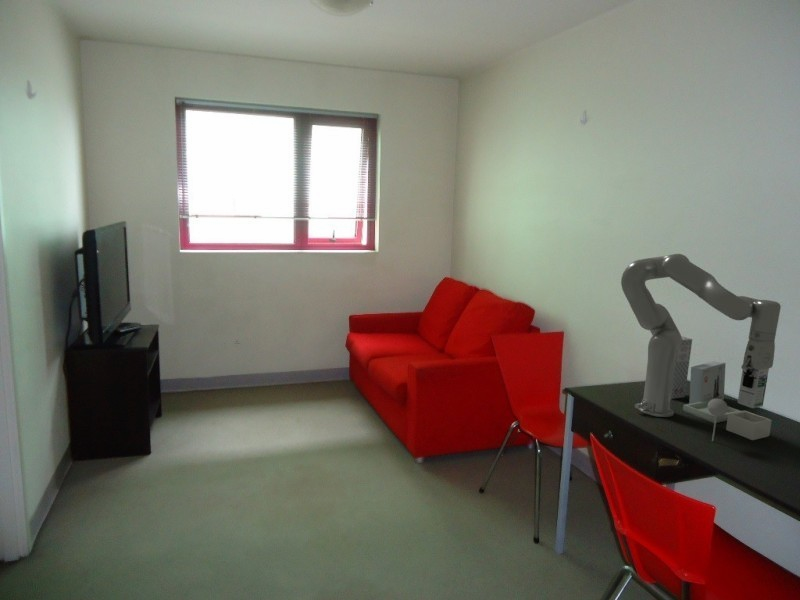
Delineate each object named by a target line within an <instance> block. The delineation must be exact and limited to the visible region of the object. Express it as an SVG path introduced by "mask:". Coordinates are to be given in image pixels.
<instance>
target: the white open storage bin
mask: <svg viewBox="0 0 800 600" xmlns="http://www.w3.org/2000/svg"><path fill="white" fill-rule="evenodd" d="M772 422H773V420H772V419H770V418H768V417H765V416H761V415H760V414H759V415H758V414H756V413H752V412H750V411H748V410H740V412H735V413H730V414H728V419H727V421H726V427H725V430H726V431H728V432H731V433H733V434H736V435H738V436H741V437H743V438H746V439H748V440H751V441H755V440H759V439H762V438H763V439H764V438H767V437H769V436H770V435H771V434H770V433H771V427H772Z"/></svg>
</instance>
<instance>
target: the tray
mask: <svg viewBox="0 0 800 600" xmlns="http://www.w3.org/2000/svg"><path fill="white" fill-rule="evenodd" d="M709 401H710V400H707V401H704V402H696V403H691V404H689V403H687V404H683V405H682V406H683V407H682V412H684V413H688V415H691V416H695V417H697V418H700V419H702V420H704V421H707V422H710V423H713V424H714V423H715V416H714V415H712V414H711V413H710V412H709V410H708V403H709ZM727 407H728V410H727V412H726V413H725V414H724V415H722V416H717V420H716V424H717V423H721V422H727V419H728V414H730V413H735V412H740V411H741V410H740V409H737V408H734V407H731V406H729V405H727Z"/></svg>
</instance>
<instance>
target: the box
mask: <svg viewBox="0 0 800 600" xmlns="http://www.w3.org/2000/svg"><path fill="white" fill-rule="evenodd" d="M681 337H682V344H681V346H680V347H679V349H678V350H677V351H676V358H675V370H674V379H673V387H672V394H671V400H674V399H680V398H685V397H686V390H687V382H688V375H689V367H690V360H691V353H692V352H691V351H692V345H693V339H692V338H690V337H686V336H682V335H681Z"/></svg>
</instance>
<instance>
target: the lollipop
mask: <svg viewBox="0 0 800 600" xmlns="http://www.w3.org/2000/svg"><path fill="white" fill-rule="evenodd" d="M727 406H728V404H727V402H726V401H724V399H723V400H722V399H717V398H716V399H712V400H710V401H709V403H708V410H709V412H710V413H711V414H712V415H714V416H715V423H713V431H712V439H711V442H714V439H715V433H716V428H717V427H716V426H717V423H716V420H717V416H722V415H724V414H725V413H726V412H727V410H728V407H727Z"/></svg>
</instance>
